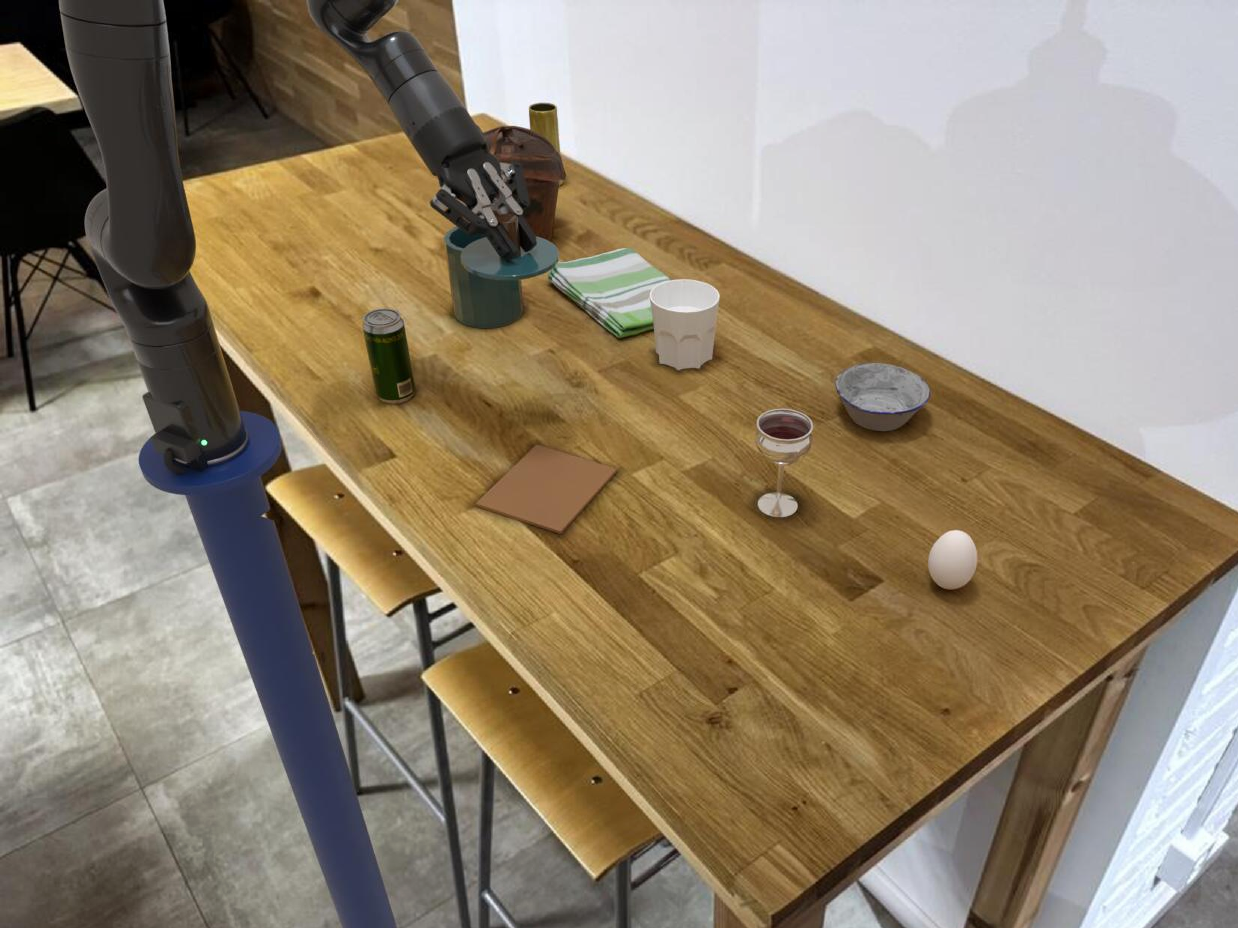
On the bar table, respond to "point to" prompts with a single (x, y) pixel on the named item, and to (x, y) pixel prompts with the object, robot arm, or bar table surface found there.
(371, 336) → the beer can
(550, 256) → the lid with knob
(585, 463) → the mat
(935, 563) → the egg
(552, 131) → the vase
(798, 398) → the bar table surface
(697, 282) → the cup
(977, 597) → the bar table surface
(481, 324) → the teal hollow cylinder
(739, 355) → the bar table surface
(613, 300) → the dish towel
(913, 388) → the bowl
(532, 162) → the case
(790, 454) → the wineglass
